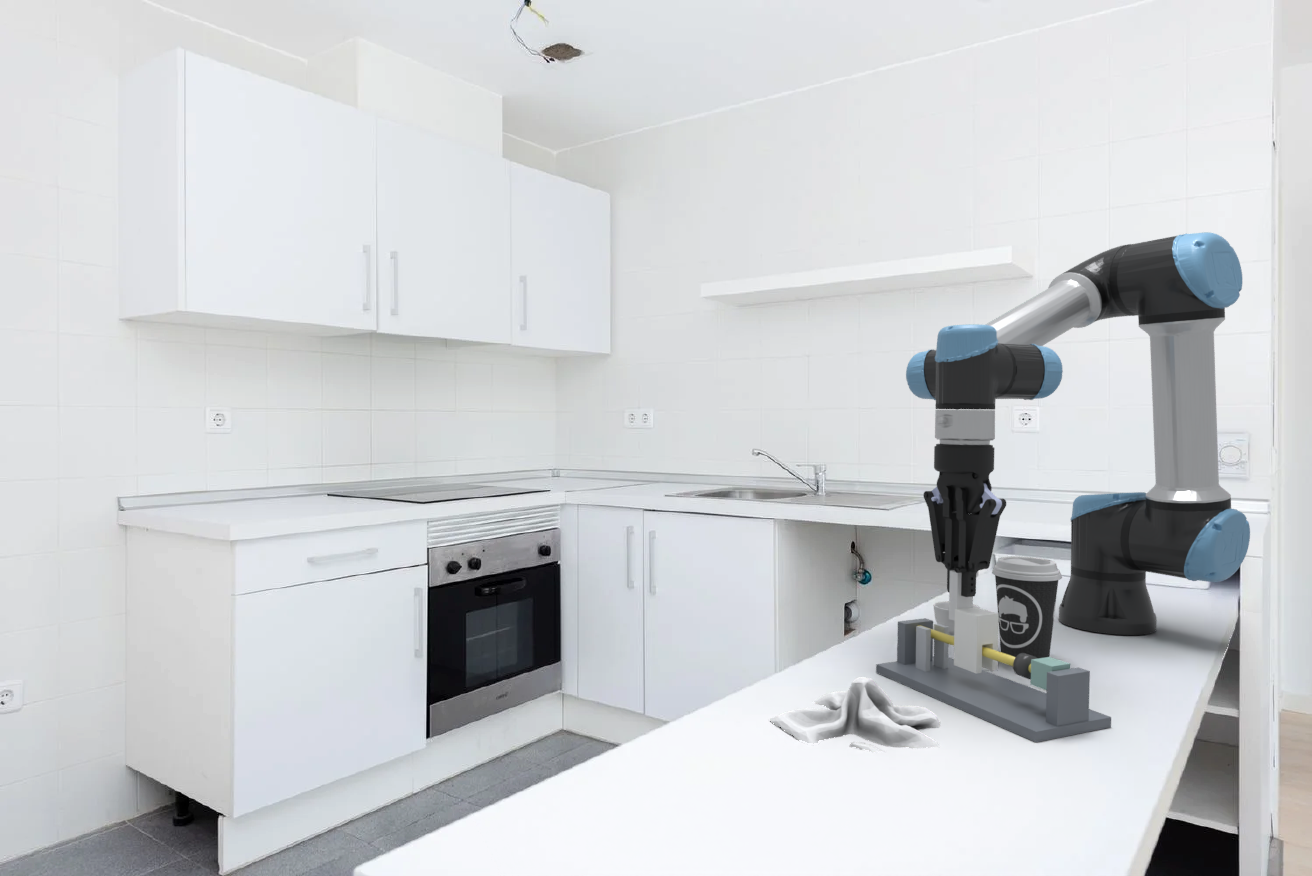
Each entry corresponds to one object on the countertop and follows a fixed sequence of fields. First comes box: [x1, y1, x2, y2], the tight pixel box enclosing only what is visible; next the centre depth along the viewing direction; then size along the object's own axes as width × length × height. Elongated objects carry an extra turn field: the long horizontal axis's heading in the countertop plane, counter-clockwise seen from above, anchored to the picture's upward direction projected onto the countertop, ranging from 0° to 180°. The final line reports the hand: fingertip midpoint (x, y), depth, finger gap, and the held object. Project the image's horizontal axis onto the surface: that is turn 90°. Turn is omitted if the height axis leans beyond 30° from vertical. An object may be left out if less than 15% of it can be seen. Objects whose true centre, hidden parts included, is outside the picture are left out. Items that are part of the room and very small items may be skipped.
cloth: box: [769, 676, 942, 753], centre depth 101 cm, size 22×19×6 cm
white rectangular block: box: [953, 607, 999, 674], centre depth 113 cm, size 4×4×7 cm
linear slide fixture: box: [875, 618, 1112, 743], centre depth 112 cm, size 28×12×8 cm, turn 24°
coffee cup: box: [991, 555, 1063, 659], centre depth 128 cm, size 10×10×15 cm
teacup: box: [933, 600, 981, 636], centre depth 145 cm, size 10×10×5 cm
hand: (960, 619), depth 116 cm, fingers closed
